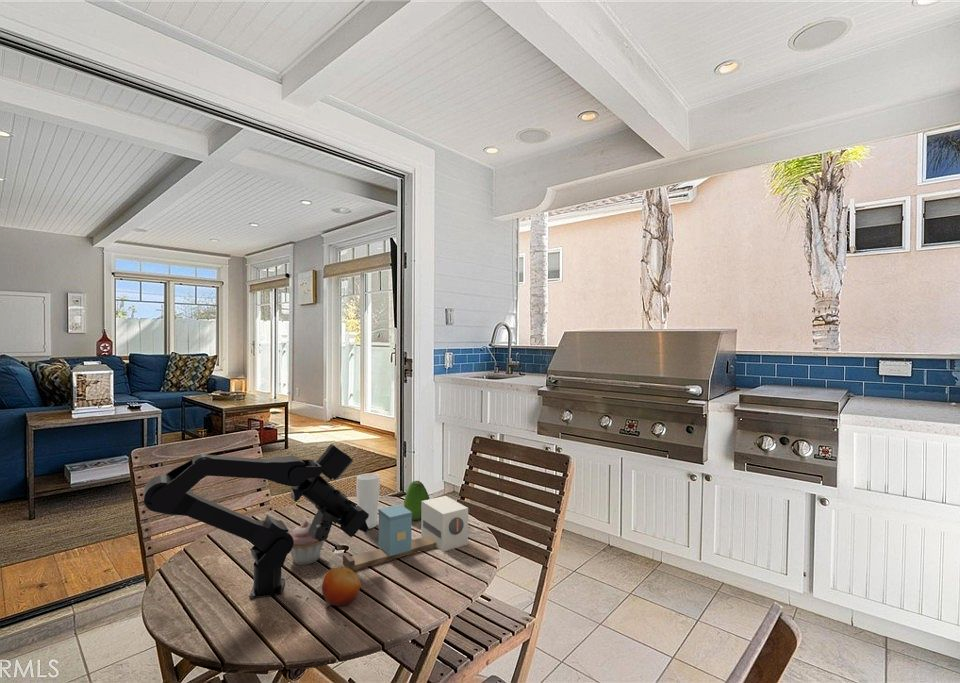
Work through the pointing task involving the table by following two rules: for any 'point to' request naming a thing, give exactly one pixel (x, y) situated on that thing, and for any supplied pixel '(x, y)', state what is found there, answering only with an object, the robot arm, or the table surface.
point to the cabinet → (444, 522)
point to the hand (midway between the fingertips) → (366, 530)
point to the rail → (384, 554)
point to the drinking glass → (368, 496)
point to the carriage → (395, 529)
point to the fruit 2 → (415, 498)
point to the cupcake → (305, 545)
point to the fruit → (340, 586)
